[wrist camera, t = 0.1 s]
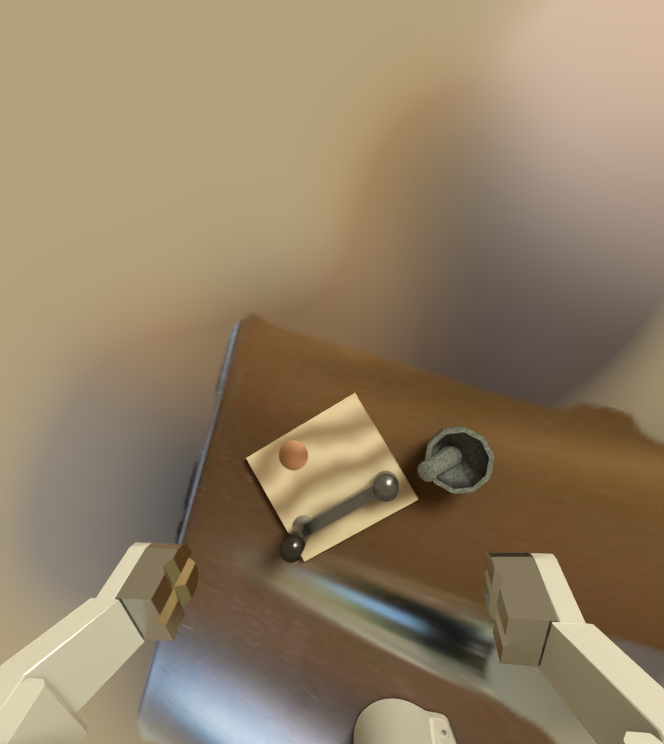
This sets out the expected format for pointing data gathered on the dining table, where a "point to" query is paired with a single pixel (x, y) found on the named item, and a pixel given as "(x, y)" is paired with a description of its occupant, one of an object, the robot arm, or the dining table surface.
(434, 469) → the mortar and pestle
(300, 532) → the lever
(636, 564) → the dining table surface
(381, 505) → the lever board
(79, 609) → the robot arm
